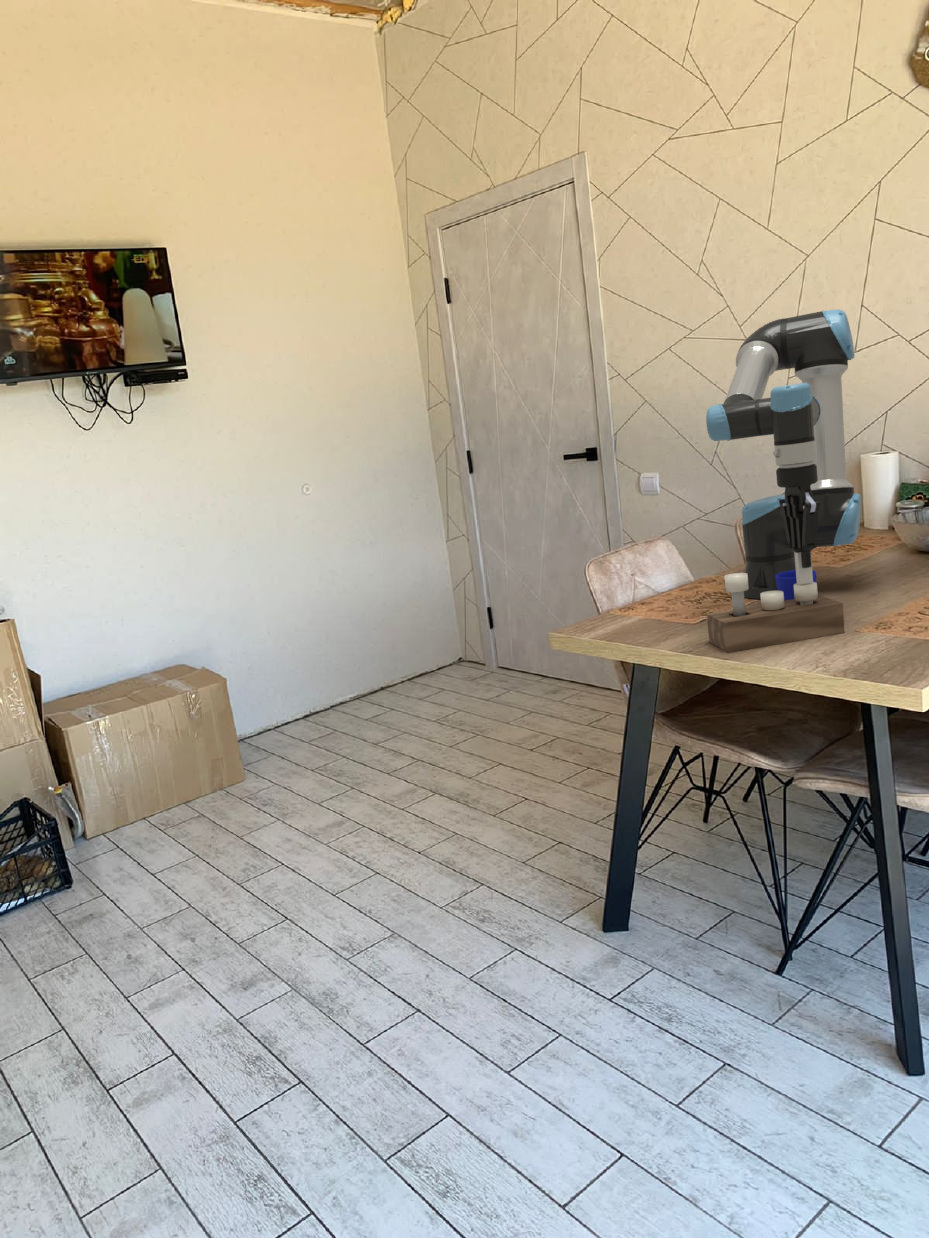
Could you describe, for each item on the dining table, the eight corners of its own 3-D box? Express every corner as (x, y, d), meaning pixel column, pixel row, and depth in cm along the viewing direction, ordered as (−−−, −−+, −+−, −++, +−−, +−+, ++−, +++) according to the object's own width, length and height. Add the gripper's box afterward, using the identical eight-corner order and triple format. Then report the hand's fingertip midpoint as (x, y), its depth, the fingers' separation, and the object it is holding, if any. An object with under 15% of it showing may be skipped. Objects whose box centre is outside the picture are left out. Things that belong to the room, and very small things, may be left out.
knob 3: (793, 625, 191) (789, 584, 189) (813, 621, 191) (810, 580, 189) (802, 629, 187) (799, 587, 185) (823, 625, 187) (820, 584, 185)
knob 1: (725, 616, 189) (721, 575, 187) (746, 613, 189) (742, 571, 188) (733, 620, 185) (729, 578, 183) (754, 617, 185) (750, 574, 183)
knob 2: (760, 634, 191) (756, 593, 189) (781, 630, 191) (777, 589, 189) (769, 638, 186) (765, 596, 185) (790, 634, 187) (787, 592, 185)
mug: (819, 609, 206) (815, 565, 204) (820, 622, 195) (816, 575, 193) (779, 612, 209) (776, 568, 207) (778, 625, 198) (774, 579, 196)
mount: (709, 641, 193) (706, 613, 192) (820, 622, 194) (818, 594, 193) (727, 652, 183) (724, 623, 182) (844, 632, 185) (842, 603, 183)
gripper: (763, 467, 189) (773, 581, 193) (792, 468, 176) (801, 591, 180) (799, 461, 189) (808, 575, 194) (830, 462, 176) (838, 584, 181)
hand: (804, 582), depth 187 cm, fingers closed
